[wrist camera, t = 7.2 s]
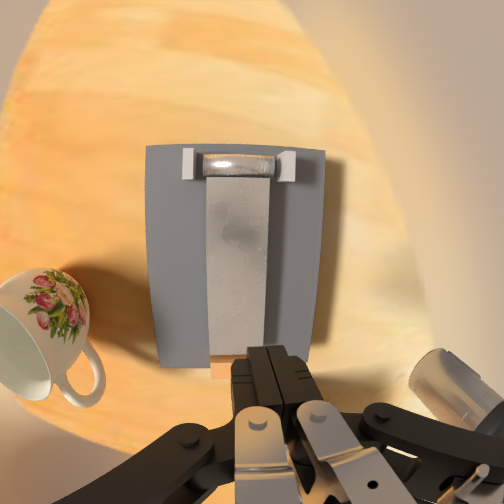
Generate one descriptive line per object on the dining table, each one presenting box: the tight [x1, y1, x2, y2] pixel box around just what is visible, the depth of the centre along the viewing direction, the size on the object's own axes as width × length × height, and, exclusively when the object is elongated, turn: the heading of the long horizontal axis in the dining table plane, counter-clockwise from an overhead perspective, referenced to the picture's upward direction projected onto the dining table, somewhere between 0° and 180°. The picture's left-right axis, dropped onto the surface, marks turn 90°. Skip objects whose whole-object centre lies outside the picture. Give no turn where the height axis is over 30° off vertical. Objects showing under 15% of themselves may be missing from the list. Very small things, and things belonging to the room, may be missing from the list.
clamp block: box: [145, 144, 325, 368], centre depth 25 cm, size 16×22×7 cm
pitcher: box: [0, 268, 106, 408], centre depth 21 cm, size 11×18×14 cm, turn 36°
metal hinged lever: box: [203, 154, 275, 355], centre depth 23 cm, size 6×18×2 cm, turn 178°
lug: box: [210, 354, 246, 379], centre depth 26 cm, size 5×2×2 cm, turn 88°
